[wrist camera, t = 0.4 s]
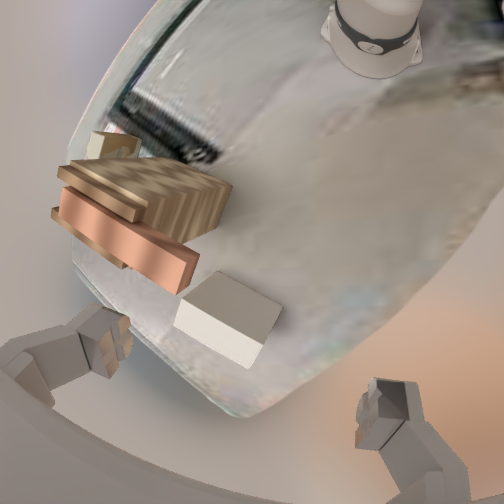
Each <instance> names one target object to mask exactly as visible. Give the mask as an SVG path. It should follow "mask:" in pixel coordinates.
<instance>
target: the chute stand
mask: <svg viewBox="0 0 504 504" xmlns="http://www.w3.org/2000/svg"><path fill="white" fill-rule="evenodd" d="M57 177H58V178H60V179H61V180H63V181H65V182H66V186H65V187H67V186H72V187H74V188H76V189H77V190H79V191H81V192H82V193H84V194H85V195H87V196H89V197H90V198H92V199H94V200H95V201H97V202H98V203H100V204H102V205H103V206H105V207H107V208H108V209H110V210H112V211H113V212H115V213H117V214H118V215H120V216H122V217H123V218H125V219H127V220H128V221H130V222H132V223H133V222H137V221H142V222H144V223H145V224H147V225H149V226H151V227H152V228H154V229H156V230H158V231H159V232H161V233H163V234H165V235H167V236H168V237H170V238H172V239H174V240H175V241H177V242H179V243H181V244H183V243H186V242H188V241H190V240H192V239H194V238H196V237H198V236H200V235H203V234H205V233H207V232H209V231H211V230H213V229H215V228H216V227H217V224H218V222H219V219H220V217H221V214H222V211H223V209H224V206H225V204H226V201H227V199H228V196H229V194H230V191H231V189H232V185H230V184H227V183H225V182H223V181H221V180H219V179H217V178H214V177H212V176H210V175H208V174H206V173H203V172H201V171H199V170H197V169H195V168H192V167H190V166H188V165H185V164H183V163H181V162H179V161H176V160H174V159H172V158H106V159H85V160H71V162H70V165H67V166H59V168H58V174H57ZM58 213H59V206H58V207H54V208H52V211H51V218H52V219H53V220H54V221H56V222H57V223H58V224H60V225H61V226H62V227H64V228H65V229H66V230H68V231H69V232H70V233H71V234H73V235H74V236H75V237H77V238H78V239H79V240H81V241H82V242H83V243H85V244H86V245H88V246H89V247H90V248H92V249H93V250H94V251H96V252H97V253H99V254H100V255H101V256H103V257H104V258H106V259H107V260H109V261H110V262H111V263H113V264H114V265H116V266H117V267H119V268H120V269H124V268H126V267H128V268H130V269H132V267H130V266H129V265H127V264H126V263H124V262H123V261H121V260H120V259H118V258H117V257H115V256H114V255H112V254H111V253H109V252H108V251H106V250H105V249H104V248H102V247H101V246H99V245H98V244H96V243H95V242H94V241H92V240H91V239H89V238H88V237H87V236H85V235H84V234H82V233H81V232H80V231H78V230H77V229H75V228H74V227H73V226H71V225H70V224H69V223H67V222H66V221H65V220H63V219H62V218H61V217H59V216H58Z"/></svg>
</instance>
